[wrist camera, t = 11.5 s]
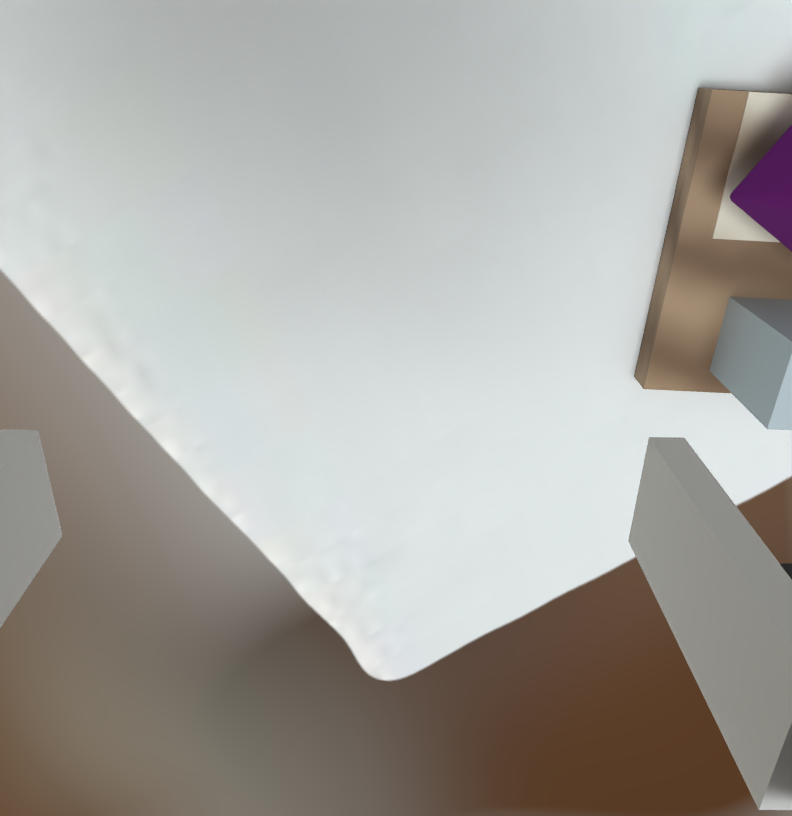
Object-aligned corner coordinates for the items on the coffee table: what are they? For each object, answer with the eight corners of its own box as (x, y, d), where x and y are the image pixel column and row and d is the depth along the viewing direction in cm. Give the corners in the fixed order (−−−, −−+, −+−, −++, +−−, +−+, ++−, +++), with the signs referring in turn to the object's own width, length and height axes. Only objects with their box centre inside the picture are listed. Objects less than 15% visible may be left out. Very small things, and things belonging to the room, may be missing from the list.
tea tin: (729, 296, 44) (794, 343, 37) (810, 300, 45) (890, 348, 37) (709, 370, 47) (767, 429, 40) (786, 374, 47) (858, 433, 40)
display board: (698, 87, 41) (717, 90, 39) (902, 100, 41) (932, 103, 39) (634, 376, 49) (646, 392, 47) (805, 384, 49) (826, 401, 47)
